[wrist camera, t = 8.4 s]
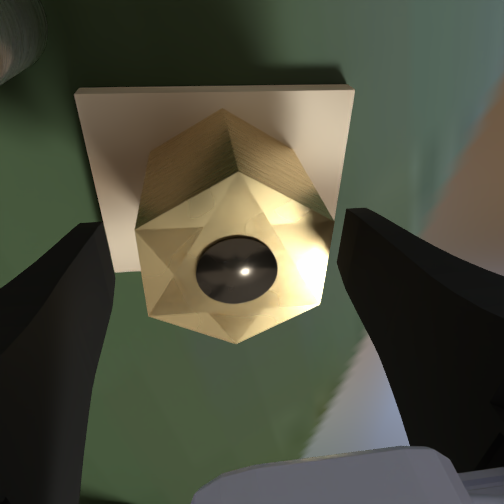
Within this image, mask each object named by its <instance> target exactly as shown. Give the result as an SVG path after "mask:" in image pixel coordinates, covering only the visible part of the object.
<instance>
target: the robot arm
mask: <svg viewBox="0 0 504 504" xmlns="http://www.w3.org/2000/svg"><path fill="white" fill-rule="evenodd" d="M337 265H338V268H339V271H340V274H341V277H342V280H343V283H344V286H345V289H346V291H347V293H348V295H349V297H350V299H351V301H352V303H353V305H354V307H355V309H356V311H357V313H358V315H359V317H360V319H361V321H362V323H363V325H364V327H365V329H366V331H367V332H368V334H369V336H370V338H371V340H372V342H373V344H374V346H375V348H376V351H377V353H378V355H379V357H380V360H381V362H382V365H383V368H384V370H385V373H386V376H387V378H388V381H389V383H390V386H391V389H392V392H393V395H394V398H395V400H396V403H397V406H398V409H399V412H400V415H401V418H402V421H403V425H404V428H405V431H406V434H407V437H408V441H409V444H410V446H396V447H388V448H381V449H373V450H366V451H358V452H351V453H343V454H335V455H327V456H320V457H312V458H304V459H297V460H289V461H281V462H274V463H266V464H258V465H252V466H249V467H245V468H241V469H237V470H234V471H230V472H226V473H223V474H221V475H219V476H218V477H216V478H215V479H213V480H212V481H210V482H208V483H207V484H205V485H204V486H202V487H201V488H200V489H199V490H198V491H197V492H196V493H195V494H194V497H193V499H192V502H191V504H504V276H502V275H499V274H496V273H493V272H491V271H488V270H486V269H483V268H481V267H478V266H476V265H474V264H471V263H469V262H467V261H464V260H462V259H460V258H458V257H455V256H453V255H451V254H449V253H447V252H445V251H443V250H441V249H439V248H437V247H435V246H433V245H432V244H430V243H428V242H426V241H424V240H422V239H421V238H419V237H417V236H415V235H413V234H412V233H410V232H408V231H407V230H405V229H403V228H401V227H400V226H398V225H396V224H395V223H393V222H391V221H389V220H388V219H386V218H384V217H383V216H381V215H379V214H377V213H375V212H373V211H371V210H369V209H367V208H353V209H346V214H345V219H344V225H343V230H342V236H341V242H340V247H339V253H338V259H337ZM114 288H115V274H114V270H113V266H112V261H111V257H110V253H109V248H108V244H107V240H106V235H105V231H104V227H103V223H102V222H92V223H80V224H78V225H77V226H76V227H75V228H73V229H72V230H71V231H70V232H69V233H68V234H67V235H65V236H64V237H63V238H62V239H61V240H60V241H59V242H58V243H56V244H55V245H54V246H53V247H52V248H51V249H50V250H48V251H47V252H46V253H45V254H44V255H43V256H42V257H40V258H39V259H38V260H37V261H36V262H34V263H33V264H32V265H31V266H29V267H28V268H27V269H26V270H24V271H23V272H22V273H20V274H19V275H18V276H17V277H15V278H14V279H13V280H12V281H10V282H9V283H8V284H6V285H5V286H3V287H2V288H1V289H0V504H79V496H80V486H81V476H82V466H83V456H84V448H85V439H86V431H87V423H88V415H89V408H90V401H91V394H92V387H93V383H94V378H95V373H96V369H97V365H98V361H99V358H100V354H101V350H102V346H103V342H104V338H105V335H106V331H107V327H108V323H109V319H110V315H111V311H112V306H113V297H114Z"/></svg>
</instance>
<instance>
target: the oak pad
mask: <svg viewBox="0 0 504 504" xmlns="http://www.w3.org/2000/svg"><path fill="white" fill-rule="evenodd" d="M354 93H355V90H354V89H353V88H352V87H350V86H349V85H348V84H321V85H245V86H169V87H93V88H79V89H78V90H77V91H76V92H75V93H74V97H75V101H76V105H77V110H78V114H79V118H80V123H81V127H82V131H83V136H84V140H85V144H86V149H87V153H88V157H89V162H90V166H91V170H92V175H93V179H94V183H95V188H96V192H97V196H98V201H99V205H100V209H101V214H102V218H103V222H104V227H105V231H106V235H107V240H108V244H109V248H110V253H111V257H112V262H113V266H114V270H115V272H129V271H141V267H140V261H139V255H138V249H137V243H136V236H135V224H136V219H137V214H138V209H139V204H140V199H141V194H142V188H143V183H144V178H145V173H146V168H147V163H148V157H149V152H150V151H151V150H153V149H155V148H156V147H158V146H160V145H161V144H163V143H165V142H166V141H168V140H170V139H171V138H173V137H175V136H177V135H178V134H180V133H182V132H183V131H185V130H187V129H188V128H190V127H192V126H193V125H195V124H197V123H198V122H200V121H202V120H203V119H205V118H207V117H208V116H210V115H212V114H213V113H215V112H217V111H218V110H220V109H222V108H223V109H225V110H227V111H228V112H230V113H232V114H234V115H235V116H237V117H239V118H240V119H242V120H244V121H246V122H247V123H249V124H251V125H253V126H254V127H256V128H258V129H259V130H261V131H263V132H265V133H266V134H268V135H270V136H271V137H273V138H275V139H277V140H278V141H280V142H282V143H283V144H285V145H287V146H289V147H290V148H292V149H293V150H294V152H295V154H296V155H297V157H298V159H299V161H300V162H301V164H302V166H303V167H304V169H305V171H306V173H307V174H308V176H309V178H310V180H311V181H312V183H313V185H314V187H315V188H316V190H317V192H318V194H319V195H320V197H321V199H322V200H323V202H324V204H325V206H326V207H327V209H328V211H329V213H330V214H331V216H332V218H333V220H334V218H335V212H336V206H337V200H338V193H339V187H340V181H341V175H342V168H343V162H344V156H345V150H346V143H347V137H348V131H349V125H350V118H351V112H352V106H353V100H354Z"/></svg>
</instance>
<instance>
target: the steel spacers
mask: <svg viewBox="0 0 504 504" xmlns="http://www.w3.org/2000/svg"><path fill="white" fill-rule="evenodd" d="M47 34H48V27H47V20H46V15H45V12H44V8H43V6H42V4H41V1H40V0H0V85H2V84H3V83H5V82H6V81H8V80H9V79H11V78H12V77H14V76H15V75H17V74H18V73H20V72H21V71H23V70H24V69H26V68H27V67H29V66H31V65H32V64H33V63H34V62H36V61H37V60H38V58H39V57H40V56H41V54H42V53H43V51H44V48H45V46H46V42H47Z"/></svg>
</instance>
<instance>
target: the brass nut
mask: <svg viewBox="0 0 504 504" xmlns="http://www.w3.org/2000/svg"><path fill="white" fill-rule="evenodd" d="M334 222H335V221H334V220H333V218H332V216H331V214H330V213H329V211H328V209H327V207H326V206H325V204H324V202H323V200H322V199H321V197H320V195H319V194H318V192H317V190H316V188H315V187H314V185H313V183H312V181H311V180H310V178H309V176H308V174H307V173H306V171H305V169H304V167H303V166H302V164H301V162H300V161H299V159H298V157H297V155H296V154H295V152H294V150H293V149H292V148H290V147H289V146H287V145H285V144H283V143H282V142H280V141H278V140H277V139H275V138H273V137H271V136H270V135H268V134H266V133H265V132H263V131H261V130H259V129H258V128H256V127H254V126H253V125H251V124H249V123H247V122H246V121H244V120H242V119H240V118H239V117H237V116H235V115H234V114H232V113H230V112H228V111H227V110H225V109H223V108H222V109H220V110H218V111H217V112H215V113H213V114H212V115H210V116H208V117H207V118H205V119H203V120H202V121H200V122H198V123H197V124H195V125H193V126H192V127H190V128H188V129H187V130H185V131H183V132H182V133H180V134H178V135H177V136H175V137H173V138H171V139H170V140H168V141H166V142H165V143H163V144H161V145H160V146H158V147H156V148H155V149H153V150H151V151H150V152H149V157H148V163H147V168H146V173H145V178H144V183H143V188H142V194H141V199H140V204H139V209H138V214H137V219H136V224H135V236H136V243H137V249H138V255H139V261H140V267H141V273H142V280H143V286H144V292H145V298H146V304H147V311H148V316H149V317H152V318H155V319H159V320H162V321H165V322H168V323H171V324H174V325H178V326H181V327H184V328H187V329H190V330H193V331H196V332H200V333H203V334H206V335H209V336H212V337H215V338H219V339H222V340H225V341H228V342H231V343H234V344H237V343H239V342H241V341H243V340H246V339H248V338H250V337H252V336H254V335H256V334H258V333H260V332H263V331H265V330H267V329H269V328H271V327H273V326H275V325H277V324H279V323H282V322H284V321H286V320H288V319H290V318H292V317H294V316H296V315H299V314H301V313H303V312H305V311H307V310H309V309H311V308H313V307H316V306H318V305H320V301H321V295H322V290H323V284H324V278H325V273H326V267H327V262H328V256H329V250H330V245H331V239H332V234H333V228H334Z"/></svg>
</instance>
